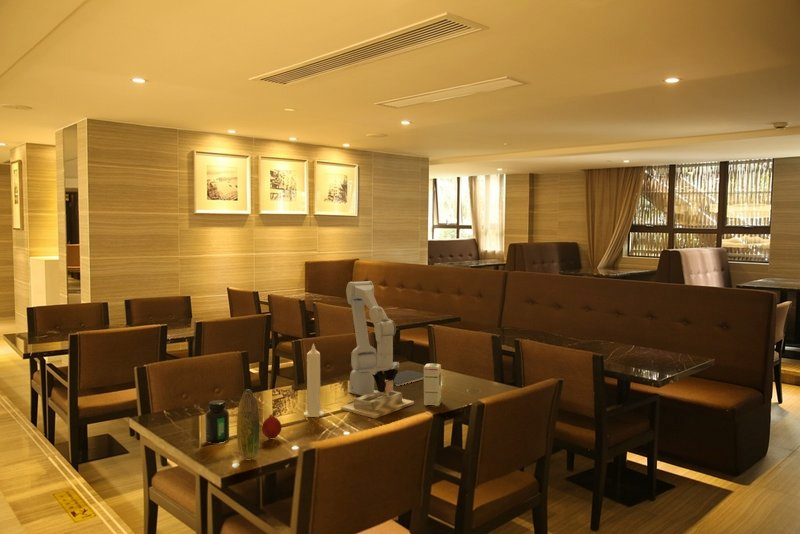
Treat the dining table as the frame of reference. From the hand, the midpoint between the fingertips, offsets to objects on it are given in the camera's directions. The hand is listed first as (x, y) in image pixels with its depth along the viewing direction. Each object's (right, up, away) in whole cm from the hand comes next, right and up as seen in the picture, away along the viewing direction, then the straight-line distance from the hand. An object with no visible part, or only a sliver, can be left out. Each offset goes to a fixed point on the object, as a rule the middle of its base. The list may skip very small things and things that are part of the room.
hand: (384, 390), depth 220 cm
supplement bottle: (-50, -8, -38) cm, 63 cm away
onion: (-34, -8, -37) cm, 51 cm away
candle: (-24, -6, -12) cm, 28 cm away
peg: (0, -4, 0) cm, 4 cm away
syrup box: (+18, -6, +2) cm, 18 cm away
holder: (-2, -6, -3) cm, 6 cm away
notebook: (+7, -4, +38) cm, 39 cm away
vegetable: (-37, -9, -52) cm, 65 cm away
